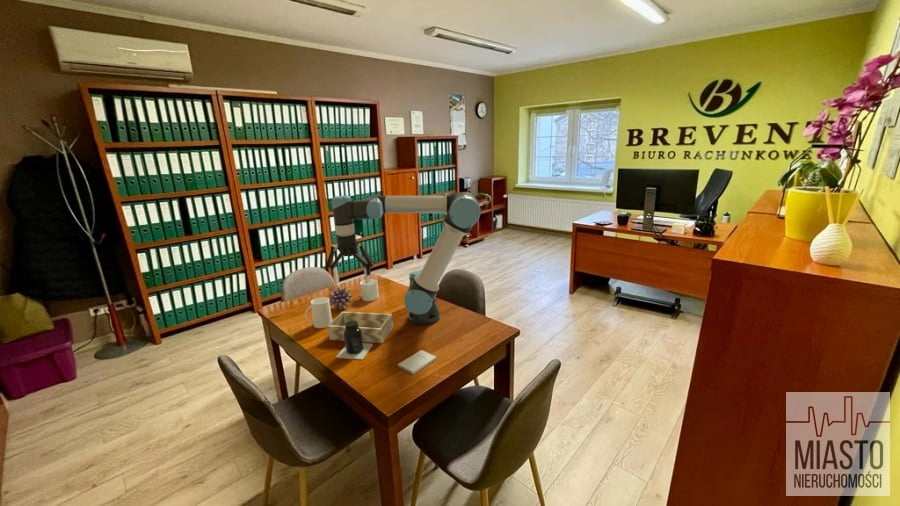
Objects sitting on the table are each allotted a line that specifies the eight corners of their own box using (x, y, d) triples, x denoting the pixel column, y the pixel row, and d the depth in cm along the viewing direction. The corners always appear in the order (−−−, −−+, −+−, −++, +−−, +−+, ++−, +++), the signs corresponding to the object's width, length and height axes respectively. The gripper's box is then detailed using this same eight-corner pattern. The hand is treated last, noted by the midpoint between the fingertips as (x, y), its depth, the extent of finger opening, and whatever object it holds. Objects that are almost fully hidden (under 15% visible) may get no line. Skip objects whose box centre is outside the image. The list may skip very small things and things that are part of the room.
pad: (373, 344, 149) (373, 343, 149) (362, 359, 139) (362, 358, 139) (348, 342, 151) (348, 342, 151) (336, 357, 141) (336, 356, 141)
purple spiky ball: (329, 305, 188) (326, 284, 184) (353, 302, 191) (350, 281, 187) (328, 314, 177) (325, 292, 174) (353, 311, 180) (351, 289, 177)
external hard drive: (397, 367, 134) (421, 352, 143) (413, 376, 129) (436, 360, 138) (397, 363, 134) (421, 349, 143) (412, 372, 129) (436, 356, 138)
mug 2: (382, 298, 195) (380, 282, 192) (367, 302, 189) (365, 286, 187) (371, 291, 204) (369, 276, 201) (356, 296, 198) (354, 280, 196)
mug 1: (309, 332, 161) (305, 308, 157) (304, 325, 167) (300, 302, 164) (335, 324, 168) (332, 300, 164) (329, 317, 174) (325, 295, 171)
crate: (393, 326, 163) (391, 314, 161) (382, 343, 150) (381, 329, 148) (343, 324, 167) (342, 311, 166) (329, 339, 154) (327, 326, 152)
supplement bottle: (365, 345, 148) (362, 318, 145) (361, 354, 142) (358, 327, 138) (348, 345, 148) (344, 319, 145) (344, 355, 142) (340, 327, 138)
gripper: (378, 231, 149) (383, 279, 155) (320, 232, 152) (328, 279, 158) (372, 235, 142) (378, 285, 148) (312, 236, 145) (320, 285, 151)
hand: (352, 282), depth 153 cm, fingers open, 13 cm apart
